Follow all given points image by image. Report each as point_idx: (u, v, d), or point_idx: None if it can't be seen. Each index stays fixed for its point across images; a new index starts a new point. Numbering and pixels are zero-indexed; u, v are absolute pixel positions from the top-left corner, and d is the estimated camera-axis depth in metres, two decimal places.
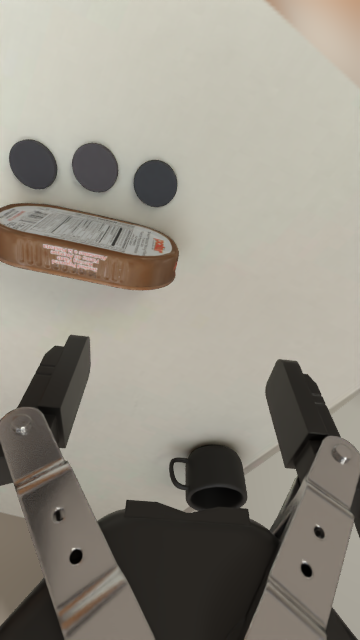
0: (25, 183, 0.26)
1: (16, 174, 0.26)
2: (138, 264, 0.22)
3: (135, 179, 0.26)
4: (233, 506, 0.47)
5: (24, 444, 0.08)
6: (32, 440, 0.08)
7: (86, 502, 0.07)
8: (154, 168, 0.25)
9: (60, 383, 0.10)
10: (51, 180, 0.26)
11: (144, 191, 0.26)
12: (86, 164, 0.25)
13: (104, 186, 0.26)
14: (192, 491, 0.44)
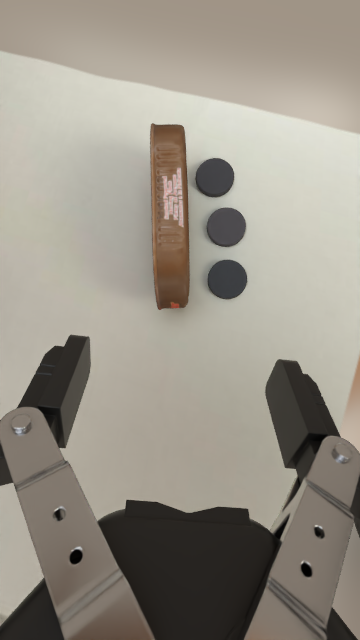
0: (198, 170, 0.30)
1: (204, 163, 0.30)
2: (182, 258, 0.22)
3: (227, 260, 0.29)
4: None
5: (24, 444, 0.08)
6: (32, 440, 0.08)
7: (86, 502, 0.07)
8: (240, 275, 0.29)
9: (60, 383, 0.10)
10: (207, 191, 0.30)
11: (219, 270, 0.29)
12: (228, 218, 0.29)
13: (213, 236, 0.29)
14: None
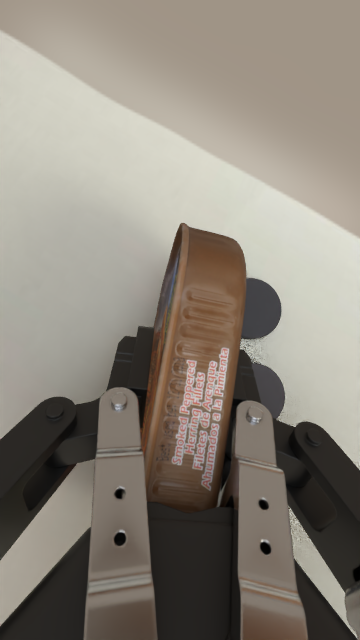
0: None
1: None
2: None
3: None
4: None
5: (115, 419, 0.09)
6: (132, 416, 0.09)
7: (144, 495, 0.07)
8: None
9: (142, 368, 0.11)
10: None
11: None
12: (259, 384, 0.18)
13: None
14: None
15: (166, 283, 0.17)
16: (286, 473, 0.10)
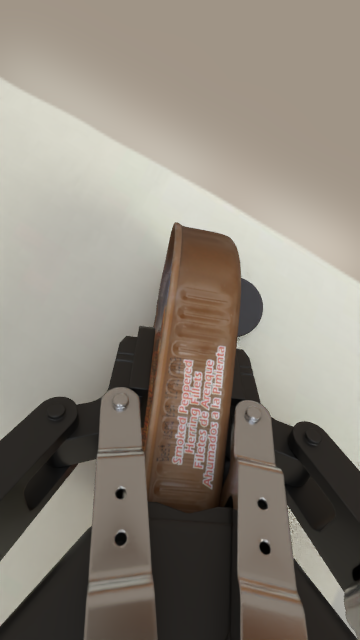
0: None
1: None
2: None
3: None
4: None
5: (116, 419, 0.09)
6: (134, 416, 0.09)
7: (145, 495, 0.07)
8: None
9: (143, 368, 0.11)
10: None
11: None
12: None
13: None
14: None
15: (164, 283, 0.17)
16: (285, 473, 0.10)
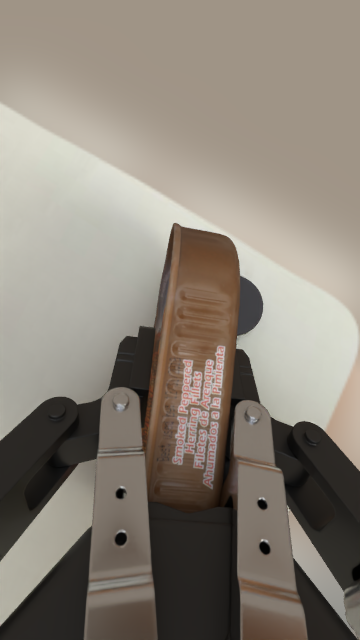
0: None
1: None
2: None
3: None
4: None
5: (117, 419, 0.09)
6: (134, 416, 0.09)
7: (146, 495, 0.07)
8: None
9: (143, 368, 0.11)
10: None
11: None
12: None
13: None
14: None
15: (164, 284, 0.17)
16: (284, 472, 0.10)
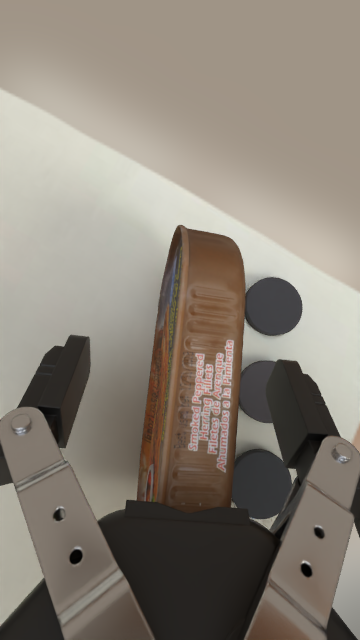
0: (252, 291, 0.19)
1: (262, 282, 0.19)
2: None
3: (267, 454, 0.18)
4: None
5: (24, 444, 0.08)
6: (32, 440, 0.08)
7: (86, 502, 0.07)
8: (283, 484, 0.18)
9: (60, 383, 0.10)
10: (259, 327, 0.19)
11: (252, 468, 0.18)
12: None
13: (246, 403, 0.18)
14: None
15: (165, 283, 0.18)
16: None
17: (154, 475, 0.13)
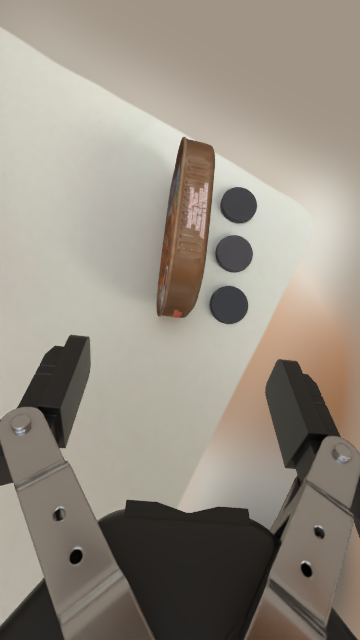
0: (225, 194, 0.31)
1: (232, 189, 0.31)
2: (198, 268, 0.22)
3: (233, 287, 0.30)
4: None
5: (24, 444, 0.08)
6: (32, 440, 0.08)
7: (86, 502, 0.07)
8: (242, 304, 0.30)
9: (60, 383, 0.10)
10: (229, 215, 0.31)
11: (224, 294, 0.30)
12: (237, 246, 0.31)
13: (221, 258, 0.30)
14: None
15: (173, 186, 0.30)
16: None
17: (169, 265, 0.25)
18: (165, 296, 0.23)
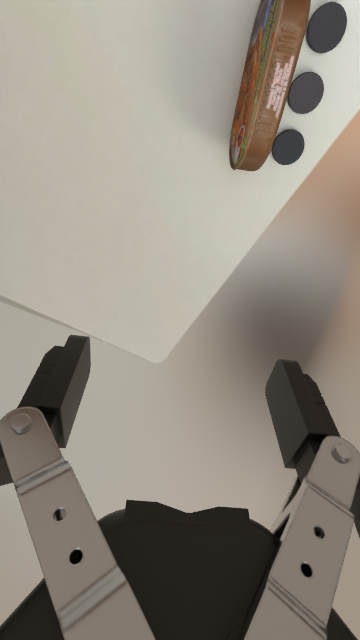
0: (315, 15, 0.30)
1: (324, 7, 0.29)
2: (268, 145, 0.30)
3: (296, 131, 0.35)
4: None
5: (24, 444, 0.08)
6: (32, 440, 0.08)
7: (86, 502, 0.07)
8: (299, 148, 0.36)
9: (60, 383, 0.10)
10: (312, 46, 0.31)
11: (286, 138, 0.36)
12: (310, 86, 0.33)
13: (292, 100, 0.34)
14: None
15: (261, 7, 0.29)
16: None
17: (245, 127, 0.31)
18: (240, 163, 0.32)
